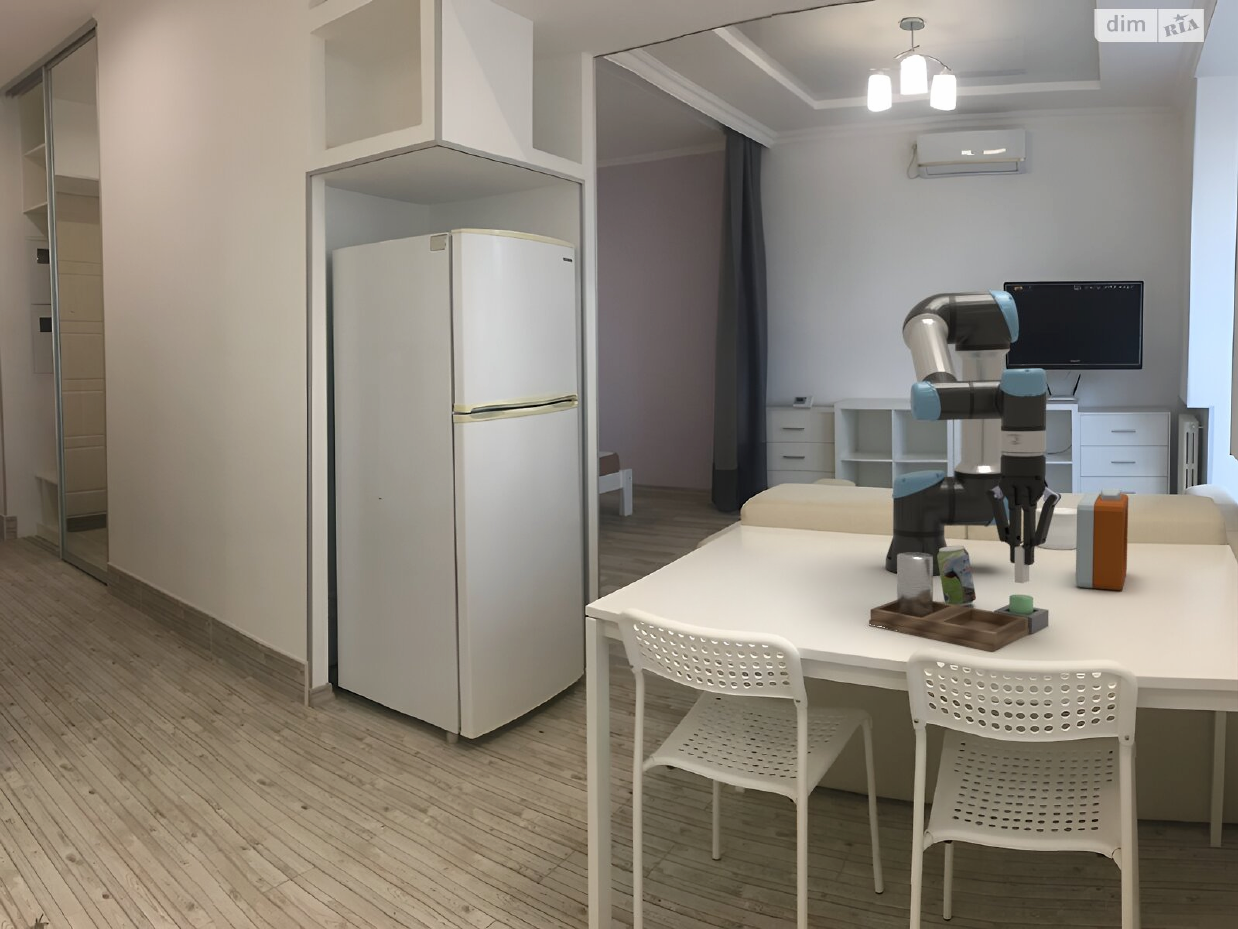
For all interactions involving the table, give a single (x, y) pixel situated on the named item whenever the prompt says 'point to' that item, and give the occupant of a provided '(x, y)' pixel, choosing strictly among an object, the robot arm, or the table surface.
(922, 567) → the seated billet
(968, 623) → the wooden divided tray
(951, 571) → the beverage can
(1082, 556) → the orange and grey box
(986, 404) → the robot arm
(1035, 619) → the button housing
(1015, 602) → the button
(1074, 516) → the cup
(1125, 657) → the table surface
